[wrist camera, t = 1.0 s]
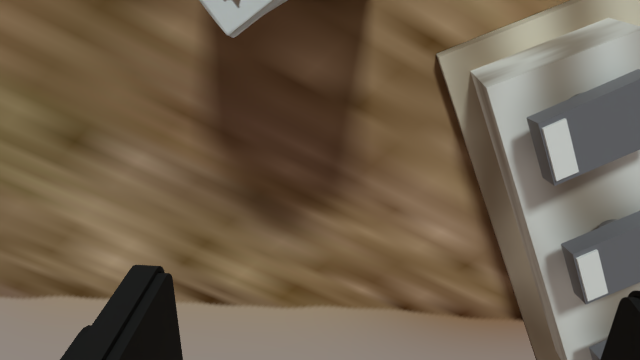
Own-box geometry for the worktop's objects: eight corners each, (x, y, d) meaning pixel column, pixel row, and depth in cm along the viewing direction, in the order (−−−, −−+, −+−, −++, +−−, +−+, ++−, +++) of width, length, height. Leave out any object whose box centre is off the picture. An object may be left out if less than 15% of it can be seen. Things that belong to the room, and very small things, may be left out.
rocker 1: (629, 67, 26) (657, 73, 24) (641, 129, 27) (668, 139, 26) (520, 114, 26) (539, 124, 25) (536, 173, 28) (556, 187, 26)
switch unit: (679, -44, 28) (742, -42, 24) (726, 309, 38) (777, 359, 33) (435, 53, 31) (450, 72, 27) (535, 359, 41) (559, 410, 36)
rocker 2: (653, 197, 29) (679, 211, 27) (662, 247, 30) (688, 264, 29) (554, 239, 29) (574, 255, 28) (568, 287, 31) (587, 306, 29)
